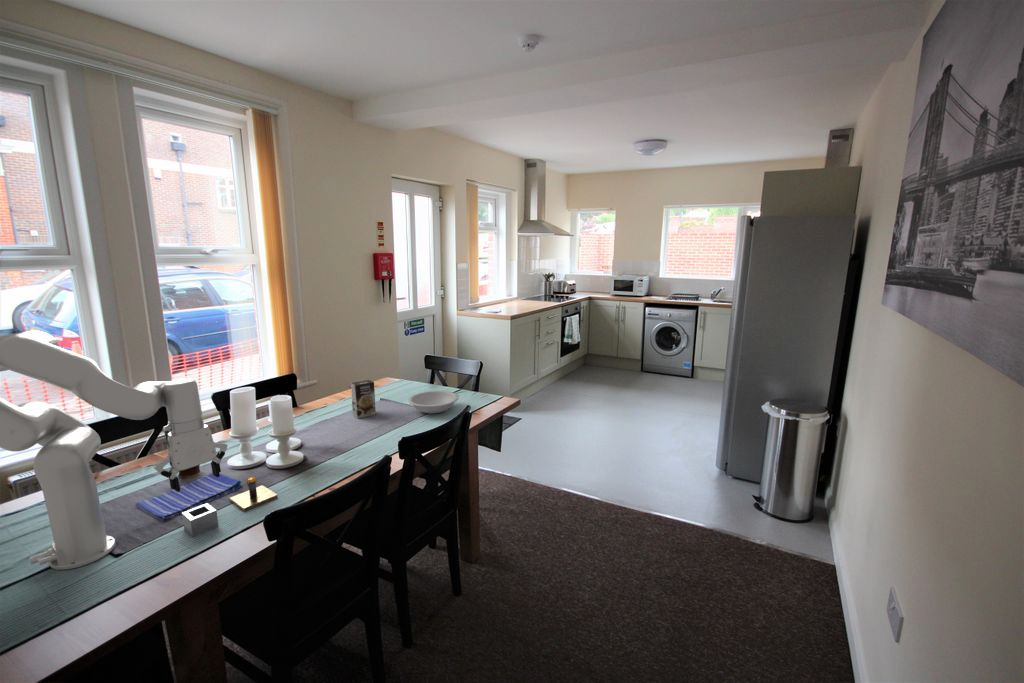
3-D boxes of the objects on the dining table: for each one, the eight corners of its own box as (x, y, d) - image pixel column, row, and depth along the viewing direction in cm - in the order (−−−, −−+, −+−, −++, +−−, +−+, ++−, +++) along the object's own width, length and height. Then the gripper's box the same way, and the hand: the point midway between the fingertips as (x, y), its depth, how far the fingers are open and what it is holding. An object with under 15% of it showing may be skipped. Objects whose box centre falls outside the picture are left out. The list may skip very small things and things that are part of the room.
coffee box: (357, 419, 215) (355, 385, 212) (352, 415, 220) (350, 382, 217) (376, 414, 221) (374, 382, 218) (371, 411, 226) (369, 379, 223)
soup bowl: (399, 410, 227) (398, 397, 226) (441, 399, 243) (440, 387, 241) (426, 423, 209) (425, 409, 208) (468, 411, 225) (468, 398, 224)
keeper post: (244, 511, 139) (241, 490, 138) (229, 500, 145) (227, 480, 144) (277, 497, 147) (275, 477, 146) (262, 488, 153) (260, 468, 152)
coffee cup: (188, 481, 157) (183, 445, 155) (168, 479, 159) (162, 443, 156) (209, 470, 166) (205, 435, 163) (190, 467, 167) (185, 434, 165)
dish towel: (244, 487, 154) (243, 480, 154) (163, 523, 134) (161, 515, 134) (216, 475, 163) (214, 468, 162) (135, 507, 143) (133, 499, 142)
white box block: (192, 537, 127) (190, 520, 126) (184, 528, 131) (181, 512, 130) (218, 526, 132) (216, 510, 131) (209, 518, 136) (207, 502, 135)
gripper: (153, 438, 116) (165, 500, 120) (227, 417, 130) (236, 474, 133) (143, 432, 121) (155, 492, 124) (216, 412, 134) (225, 467, 138)
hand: (197, 482), depth 129 cm, fingers open, 9 cm apart
